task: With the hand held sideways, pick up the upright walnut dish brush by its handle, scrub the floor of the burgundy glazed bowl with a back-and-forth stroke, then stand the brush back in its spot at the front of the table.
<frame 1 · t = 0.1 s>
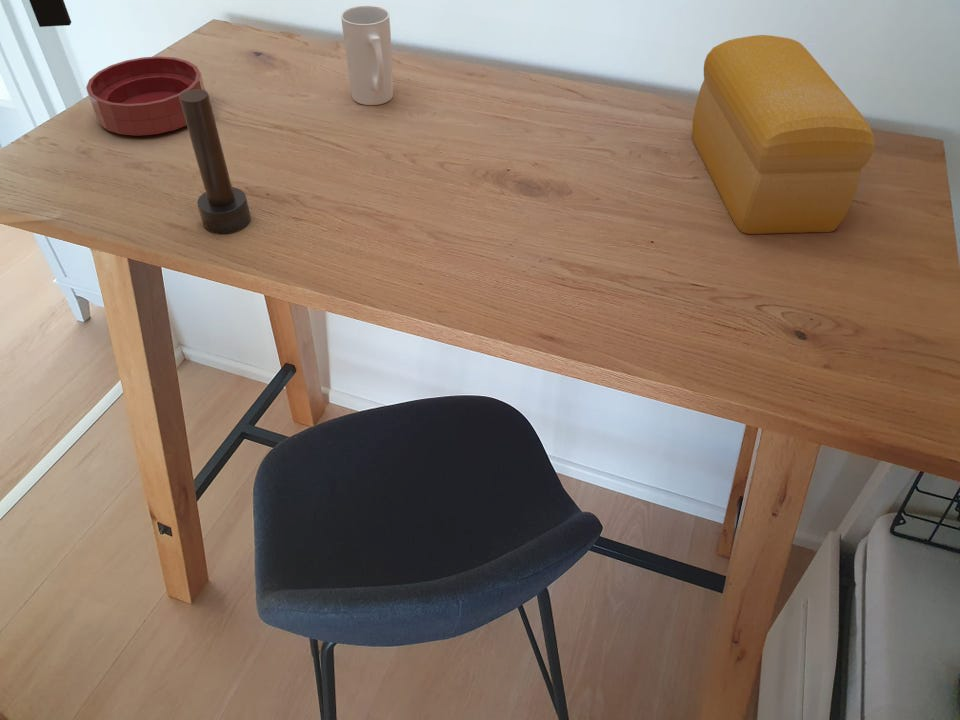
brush: (227, 220, 93), on the table
bowl: (154, 112, 111), on the table
mug: (375, 102, 115), on the table
bread: (757, 180, 101), on the table
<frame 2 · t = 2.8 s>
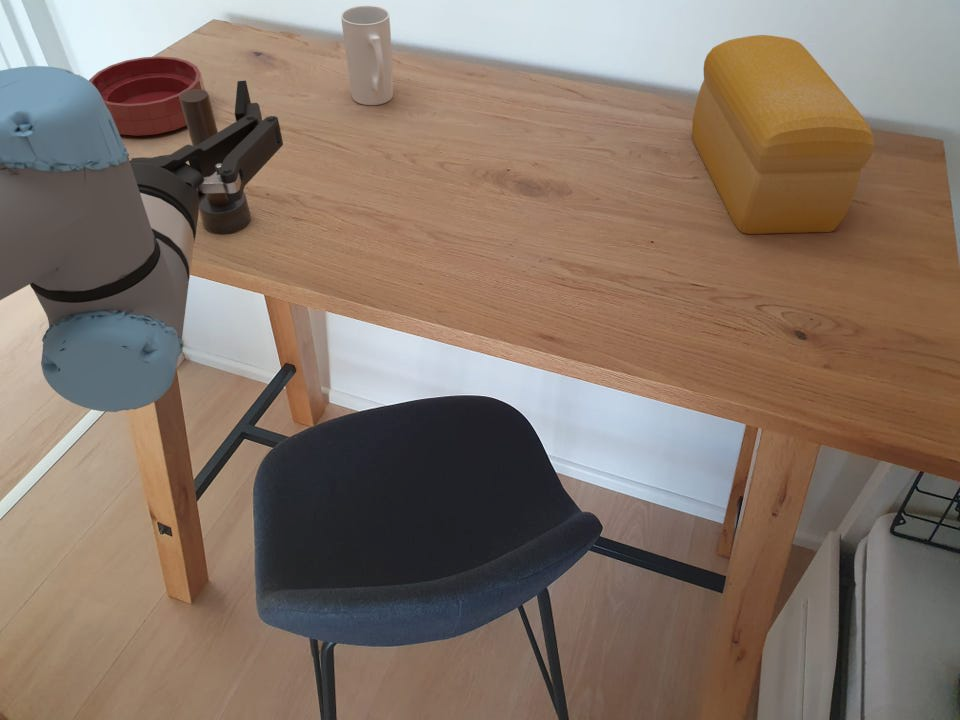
hand: (170, 100, 71), 20 cm above the table, tool horizontal, fingers open, 13 cm apart
nothing on the table moved.
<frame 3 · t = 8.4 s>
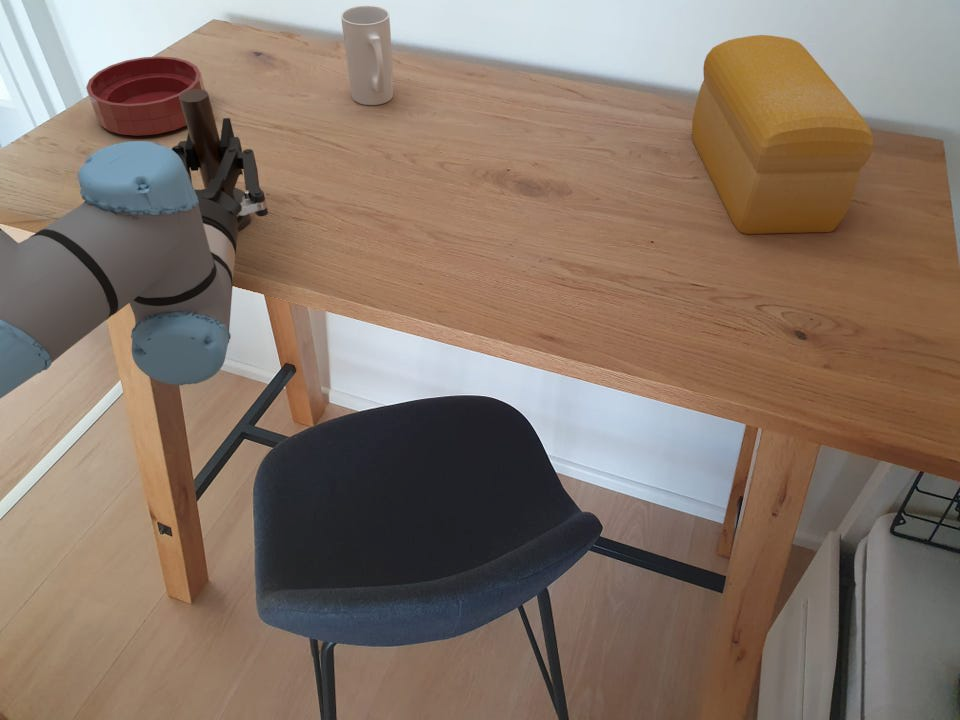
hand: (212, 130, 90), 9 cm above the table, tool horizontal, fingers closed on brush, 3 cm apart
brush: (227, 220, 93), on the table, touching gripper
everything else where it was.
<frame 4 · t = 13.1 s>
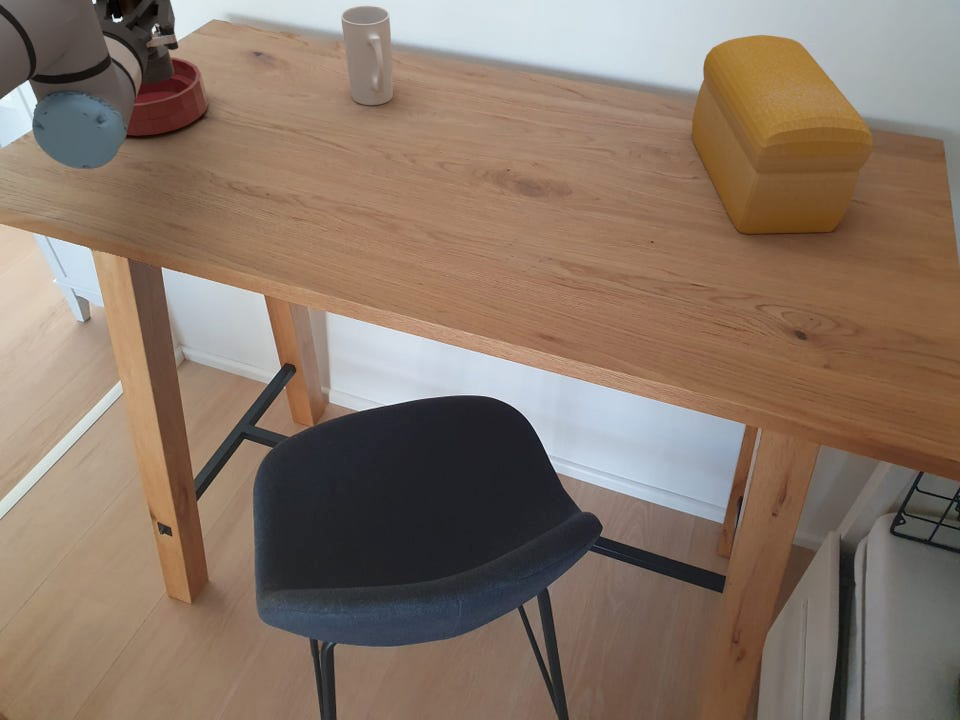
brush: (152, 74, 100), point 9 cm above the table, touching gripper
everything else where it was.
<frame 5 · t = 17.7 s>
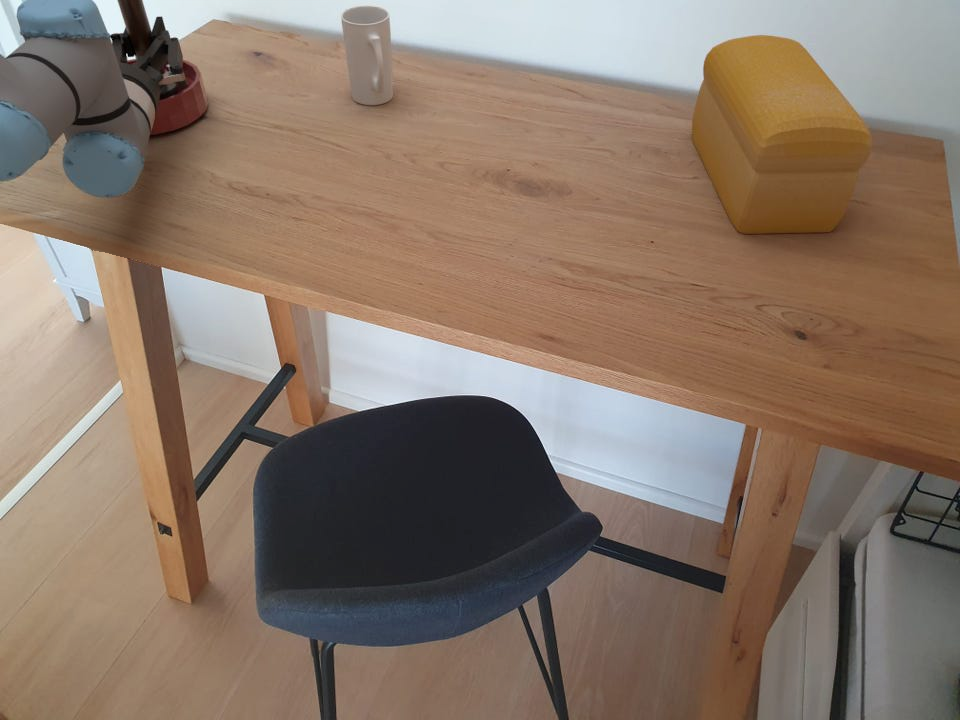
hand: (148, 27, 108), 10 cm above the table, tool horizontal, fingers closed on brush, 3 cm apart
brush: (161, 105, 111), point 1 cm above the table, touching gripper
everything else where it was.
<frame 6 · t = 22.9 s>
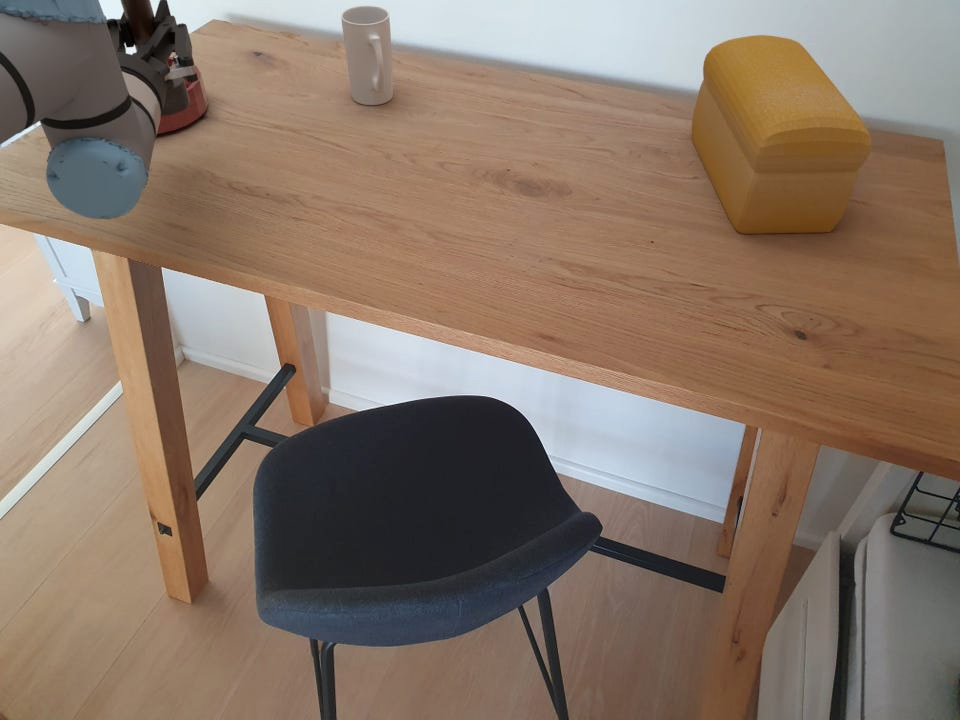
hand: (150, 12, 91), 18 cm above the table, tool horizontal, fingers closed on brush, 3 cm apart
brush: (166, 104, 94), point 9 cm above the table, touching gripper
everything else where it was.
when the fingers open (9 cm above the table, at t = 27.3 s): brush stays where it is, on the table.
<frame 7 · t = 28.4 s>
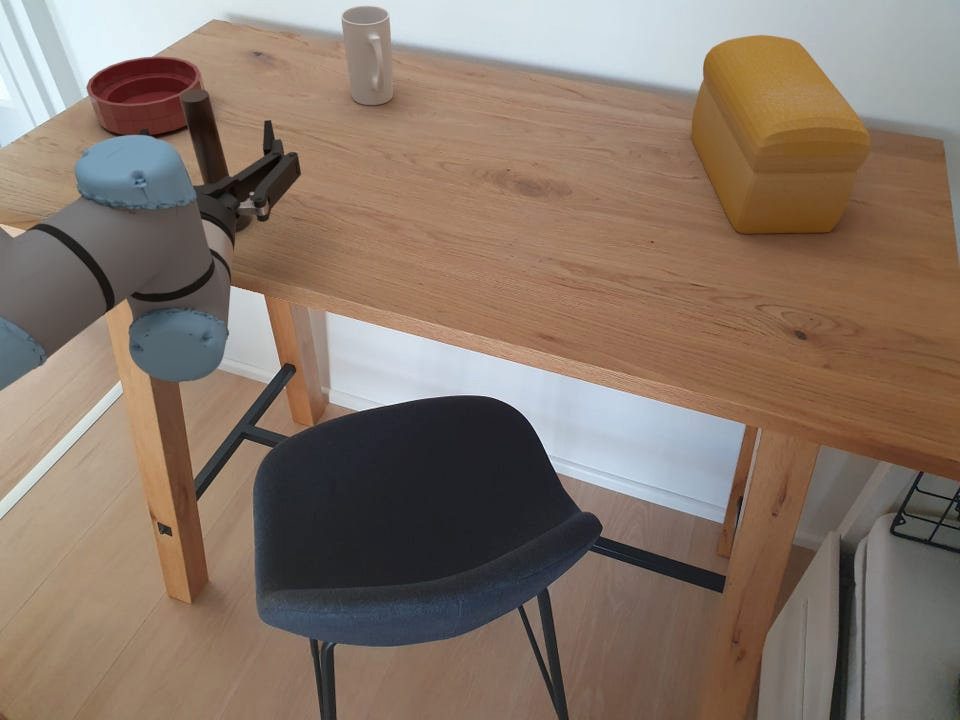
hand: (209, 135, 88), 10 cm above the table, tool horizontal, fingers open, 13 cm apart
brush: (227, 220, 93), on the table
everything else where it was.
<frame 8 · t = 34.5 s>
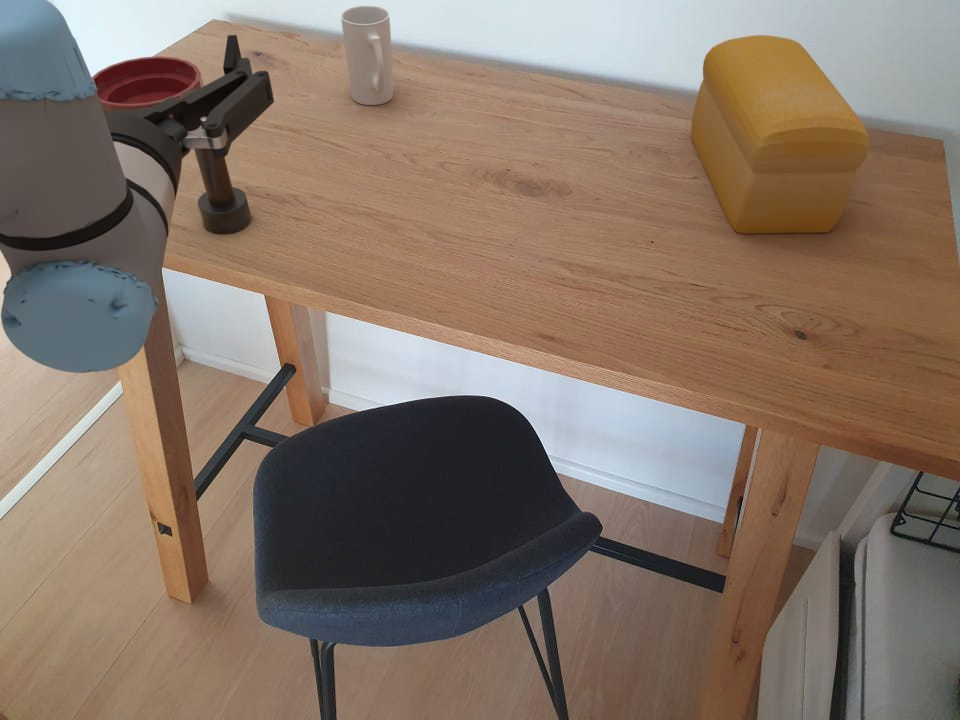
hand: (156, 54, 67), 25 cm above the table, tool horizontal, fingers open, 13 cm apart
nothing on the table moved.
at the end: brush tilted 0°; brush inside the target area (0.0 cm from its centre), on the table; bowl moved 0.0 cm from its start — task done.
